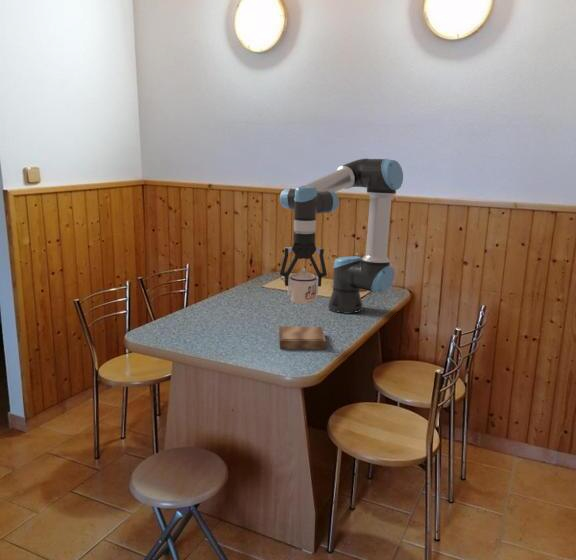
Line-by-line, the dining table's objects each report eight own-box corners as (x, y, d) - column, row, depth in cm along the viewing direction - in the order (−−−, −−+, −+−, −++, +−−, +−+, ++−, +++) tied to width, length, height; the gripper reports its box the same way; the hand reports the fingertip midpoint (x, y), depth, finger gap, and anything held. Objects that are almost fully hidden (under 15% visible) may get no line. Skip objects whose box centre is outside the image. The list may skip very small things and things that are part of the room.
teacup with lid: (308, 305, 188) (309, 272, 186) (285, 302, 192) (286, 269, 190) (323, 298, 199) (324, 266, 196) (300, 294, 203) (301, 263, 200)
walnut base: (321, 334, 207) (321, 326, 206) (325, 349, 191) (326, 340, 191) (278, 333, 206) (279, 325, 205) (279, 348, 191) (280, 339, 190)
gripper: (334, 231, 194) (331, 292, 199) (272, 229, 193) (271, 291, 198) (337, 234, 187) (334, 298, 192) (273, 233, 186) (272, 297, 191)
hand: (302, 295), depth 195 cm, fingers closed on teacup with lid, 9 cm apart
